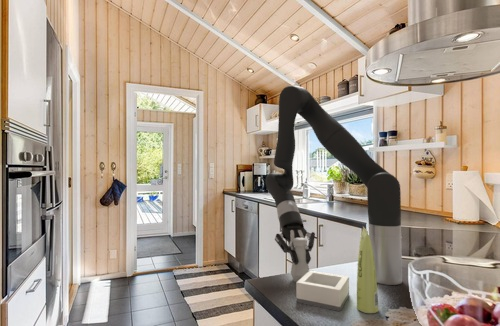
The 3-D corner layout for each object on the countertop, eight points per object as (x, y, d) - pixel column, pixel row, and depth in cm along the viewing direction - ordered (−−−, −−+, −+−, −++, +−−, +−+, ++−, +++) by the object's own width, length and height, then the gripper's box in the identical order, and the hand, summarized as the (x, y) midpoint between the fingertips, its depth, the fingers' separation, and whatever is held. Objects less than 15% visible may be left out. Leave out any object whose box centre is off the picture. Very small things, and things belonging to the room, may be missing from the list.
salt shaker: (297, 276, 98) (296, 235, 99) (313, 279, 94) (312, 237, 95) (287, 281, 94) (287, 238, 94) (303, 285, 90) (303, 241, 90)
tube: (350, 306, 75) (349, 227, 76) (364, 302, 78) (363, 225, 78) (368, 316, 70) (367, 231, 71) (383, 311, 73) (382, 229, 73)
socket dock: (309, 288, 88) (309, 270, 88) (349, 295, 82) (348, 276, 83) (296, 302, 78) (296, 282, 78) (340, 311, 73) (339, 290, 73)
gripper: (271, 210, 101) (282, 257, 88) (311, 209, 103) (327, 255, 91) (267, 224, 106) (277, 270, 93) (305, 222, 108) (320, 267, 96)
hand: (302, 262), depth 92 cm, fingers closed on salt shaker, 3 cm apart
